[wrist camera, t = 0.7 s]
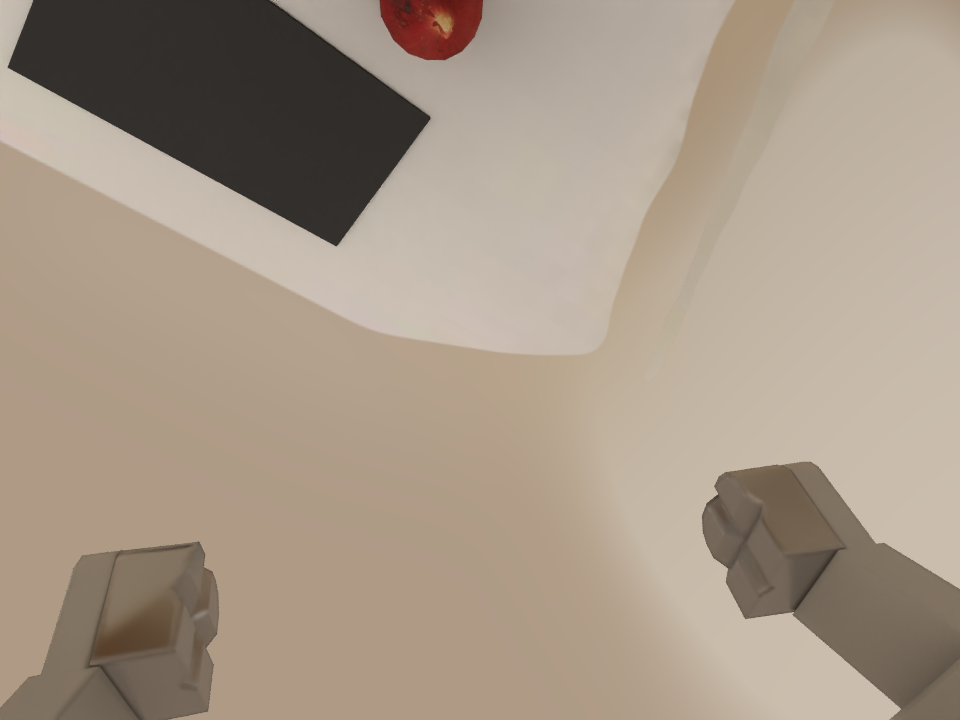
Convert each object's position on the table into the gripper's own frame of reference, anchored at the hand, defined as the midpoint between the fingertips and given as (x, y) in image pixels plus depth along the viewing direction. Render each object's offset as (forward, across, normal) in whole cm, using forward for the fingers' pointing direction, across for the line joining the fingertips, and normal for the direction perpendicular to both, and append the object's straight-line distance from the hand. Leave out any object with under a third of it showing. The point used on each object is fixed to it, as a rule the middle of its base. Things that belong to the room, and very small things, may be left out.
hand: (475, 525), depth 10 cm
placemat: (+39, +8, +7) cm, 40 cm away
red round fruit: (+39, -4, +1) cm, 39 cm away
